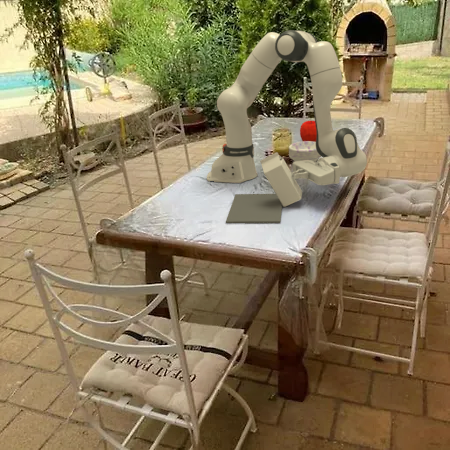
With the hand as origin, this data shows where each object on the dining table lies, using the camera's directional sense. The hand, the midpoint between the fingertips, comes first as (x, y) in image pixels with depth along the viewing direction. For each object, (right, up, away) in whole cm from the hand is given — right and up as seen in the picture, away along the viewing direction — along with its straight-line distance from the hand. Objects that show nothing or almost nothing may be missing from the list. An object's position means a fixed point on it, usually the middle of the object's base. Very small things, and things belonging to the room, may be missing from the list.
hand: (293, 175), depth 174 cm
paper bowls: (+13, +11, +50) cm, 53 cm away
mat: (-13, -12, +4) cm, 18 cm away
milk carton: (+1, -9, +4) cm, 10 cm away
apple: (+20, +22, +72) cm, 77 cm away
